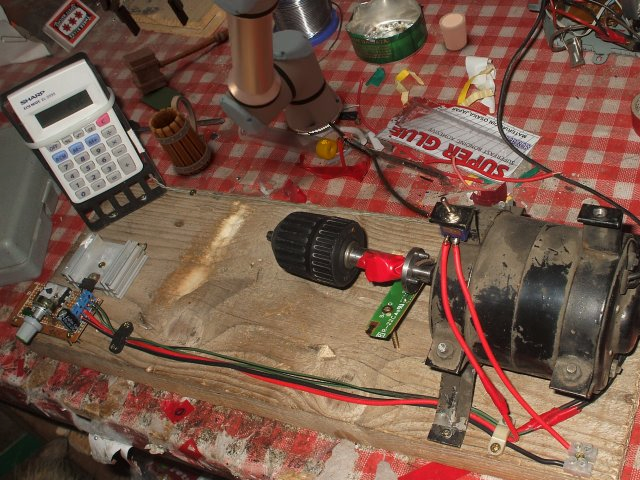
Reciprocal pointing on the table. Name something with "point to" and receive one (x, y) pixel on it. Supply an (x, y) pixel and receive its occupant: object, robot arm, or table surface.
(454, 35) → the pink cylinder
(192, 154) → the mug
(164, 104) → the mat
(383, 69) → the table surface
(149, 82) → the hammer
